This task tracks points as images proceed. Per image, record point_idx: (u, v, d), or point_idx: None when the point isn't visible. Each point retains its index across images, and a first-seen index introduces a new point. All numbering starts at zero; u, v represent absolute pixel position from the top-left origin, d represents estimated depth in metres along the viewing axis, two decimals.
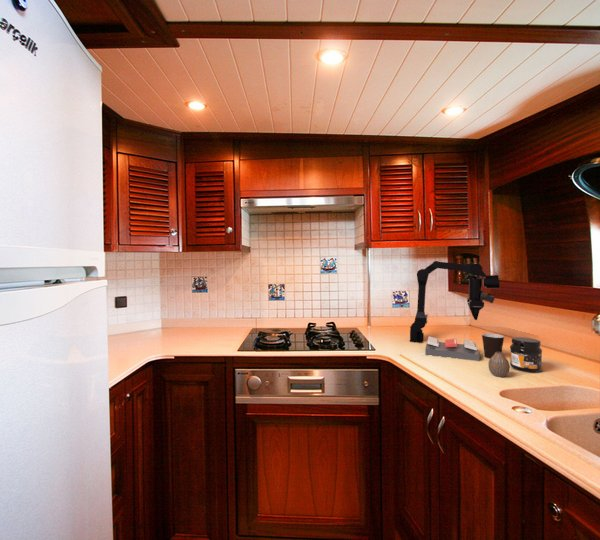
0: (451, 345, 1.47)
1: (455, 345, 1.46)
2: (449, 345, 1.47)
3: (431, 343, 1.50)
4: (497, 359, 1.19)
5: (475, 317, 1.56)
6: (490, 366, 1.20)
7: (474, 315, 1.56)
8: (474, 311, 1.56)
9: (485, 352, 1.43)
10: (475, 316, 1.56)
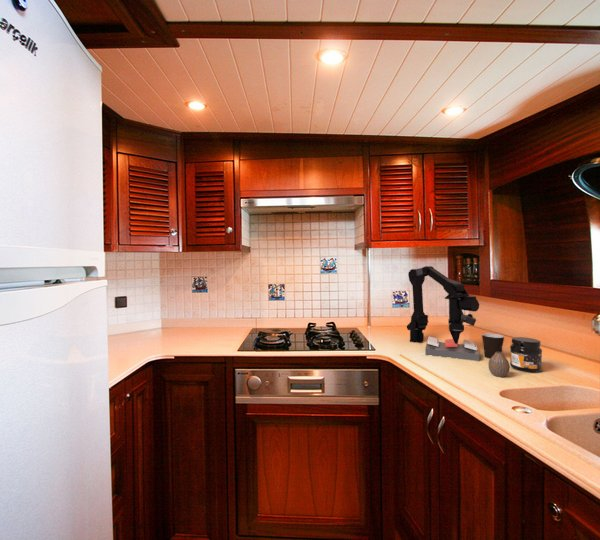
0: (451, 345, 1.47)
1: (455, 345, 1.46)
2: (449, 345, 1.47)
3: (431, 343, 1.50)
4: (497, 359, 1.19)
5: (455, 341, 1.46)
6: (490, 366, 1.20)
7: (454, 339, 1.46)
8: (454, 335, 1.45)
9: (485, 352, 1.43)
10: (455, 340, 1.46)
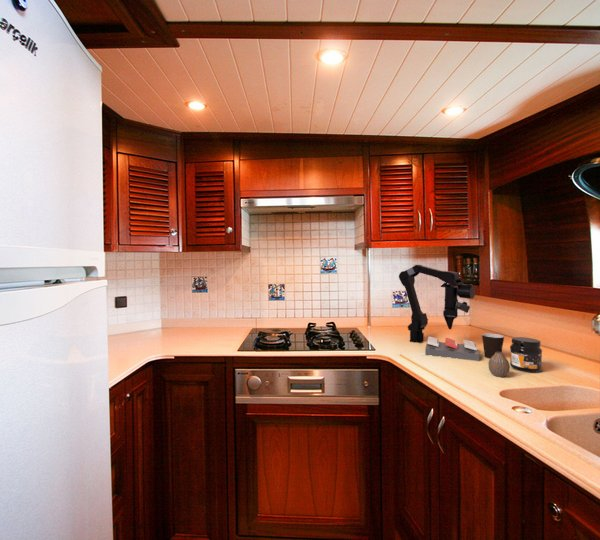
0: (451, 345, 1.46)
1: (455, 347, 1.46)
2: (449, 344, 1.47)
3: (431, 343, 1.50)
4: (497, 359, 1.19)
5: (449, 326, 1.54)
6: (490, 366, 1.20)
7: (448, 324, 1.54)
8: (448, 320, 1.54)
9: (485, 352, 1.43)
10: (449, 325, 1.54)
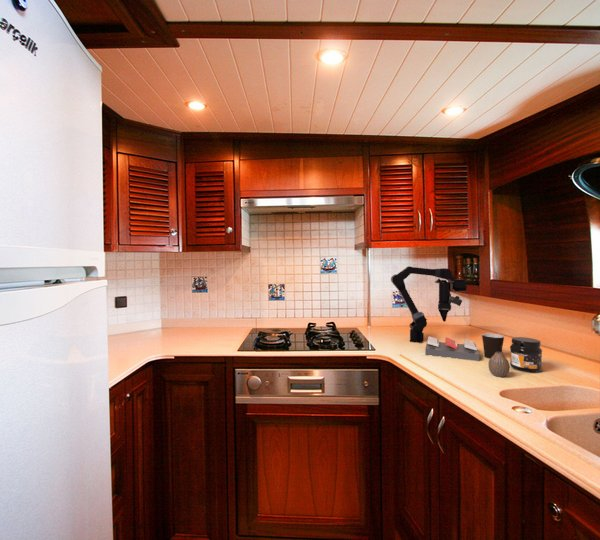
0: (451, 345, 1.46)
1: (455, 347, 1.46)
2: (450, 344, 1.47)
3: (431, 343, 1.50)
4: (497, 359, 1.19)
5: (444, 319, 1.66)
6: (490, 366, 1.20)
7: (443, 317, 1.66)
8: (442, 313, 1.66)
9: (485, 352, 1.43)
10: (444, 318, 1.66)
